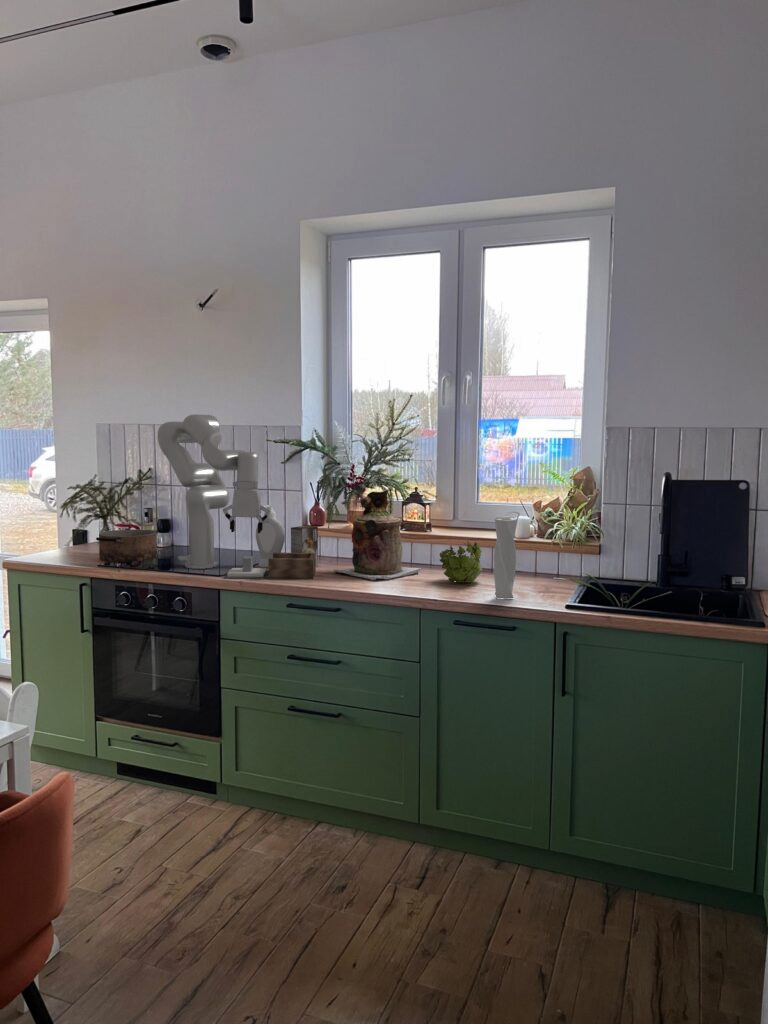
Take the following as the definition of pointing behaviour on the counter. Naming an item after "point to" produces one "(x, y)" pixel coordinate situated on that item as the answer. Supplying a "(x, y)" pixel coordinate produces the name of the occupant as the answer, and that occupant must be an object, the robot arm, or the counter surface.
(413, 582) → the counter surface
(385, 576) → the rustic painted jar
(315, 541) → the coffee box
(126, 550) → the cooking pot
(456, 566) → the green rounded bumpy piece
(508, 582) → the white faceted vase
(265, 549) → the soap bottle
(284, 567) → the box
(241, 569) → the lid
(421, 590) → the counter surface
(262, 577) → the mat
